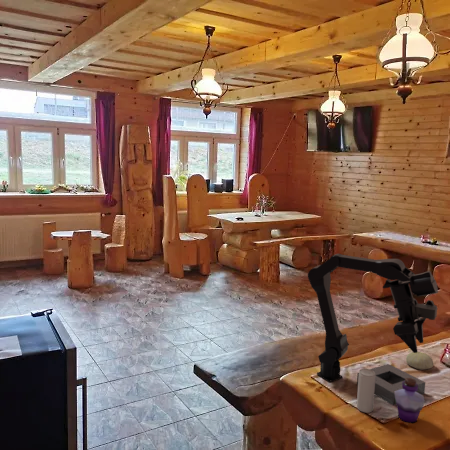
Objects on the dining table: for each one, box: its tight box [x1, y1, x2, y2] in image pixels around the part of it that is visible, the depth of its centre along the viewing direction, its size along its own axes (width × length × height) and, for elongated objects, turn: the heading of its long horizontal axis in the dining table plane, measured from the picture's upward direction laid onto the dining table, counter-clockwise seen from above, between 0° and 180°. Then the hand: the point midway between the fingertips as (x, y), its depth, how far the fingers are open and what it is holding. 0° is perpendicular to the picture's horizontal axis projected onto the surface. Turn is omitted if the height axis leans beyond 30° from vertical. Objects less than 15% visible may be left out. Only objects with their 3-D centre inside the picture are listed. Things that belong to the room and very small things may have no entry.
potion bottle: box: [394, 378, 425, 424], centre depth 131 cm, size 9×9×12 cm
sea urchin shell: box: [405, 351, 434, 371], centre depth 166 cm, size 9×8×8 cm
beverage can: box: [356, 368, 375, 414], centre depth 135 cm, size 5×5×12 cm
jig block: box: [356, 363, 426, 406], centre depth 148 cm, size 15×15×4 cm
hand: (418, 347), depth 138 cm, fingers open, 9 cm apart
